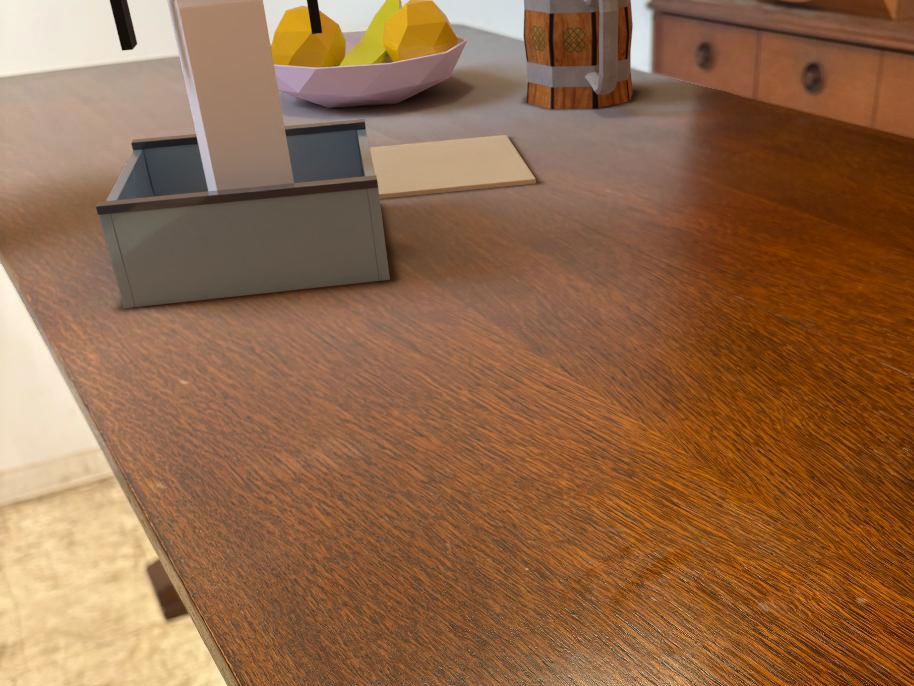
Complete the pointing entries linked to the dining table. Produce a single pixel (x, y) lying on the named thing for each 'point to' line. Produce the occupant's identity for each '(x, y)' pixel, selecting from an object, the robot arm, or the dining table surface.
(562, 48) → the mug
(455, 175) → the mat
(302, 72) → the fruit bowl
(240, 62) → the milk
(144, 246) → the gray open box
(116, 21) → the robot arm
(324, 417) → the dining table surface
